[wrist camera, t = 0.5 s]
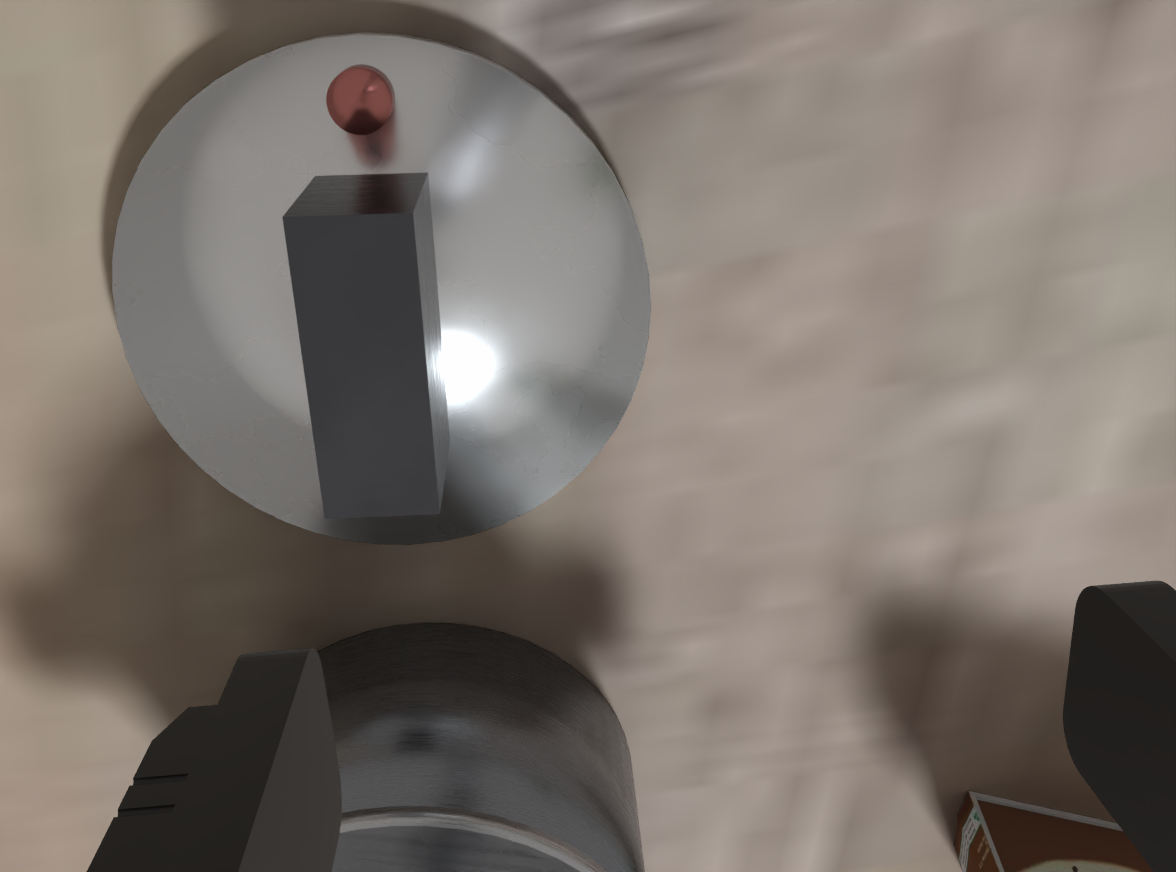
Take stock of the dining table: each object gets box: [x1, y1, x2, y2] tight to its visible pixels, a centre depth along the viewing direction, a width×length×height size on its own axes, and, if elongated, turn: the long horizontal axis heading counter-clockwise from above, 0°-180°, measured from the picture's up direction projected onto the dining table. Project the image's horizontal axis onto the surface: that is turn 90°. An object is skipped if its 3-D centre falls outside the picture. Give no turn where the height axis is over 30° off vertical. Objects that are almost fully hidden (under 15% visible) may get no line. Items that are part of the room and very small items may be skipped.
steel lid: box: [112, 32, 651, 545], centre depth 30 cm, size 15×15×6 cm
